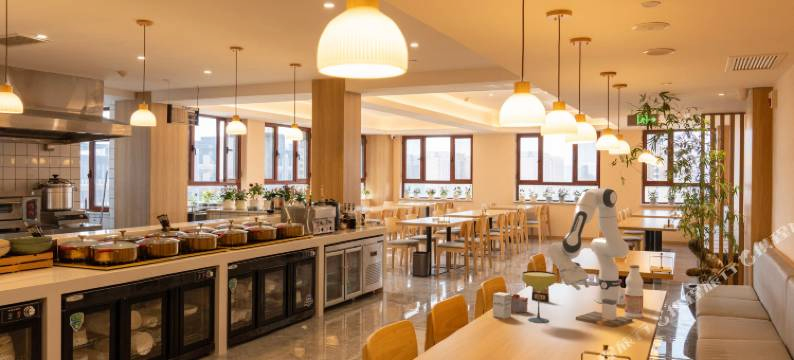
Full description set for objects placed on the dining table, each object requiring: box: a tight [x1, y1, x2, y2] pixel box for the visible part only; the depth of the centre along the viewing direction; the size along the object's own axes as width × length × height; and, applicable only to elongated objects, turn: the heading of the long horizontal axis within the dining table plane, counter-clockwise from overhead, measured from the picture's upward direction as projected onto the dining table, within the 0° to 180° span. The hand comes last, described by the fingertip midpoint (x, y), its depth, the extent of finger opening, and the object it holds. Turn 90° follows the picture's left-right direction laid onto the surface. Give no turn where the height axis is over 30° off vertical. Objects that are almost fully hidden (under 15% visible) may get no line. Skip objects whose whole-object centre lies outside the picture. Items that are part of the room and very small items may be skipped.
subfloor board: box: [575, 310, 633, 328], centre depth 331 cm, size 20×22×2 cm
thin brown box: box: [531, 287, 550, 303], centre depth 380 cm, size 11×2×12 cm, turn 53°
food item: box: [511, 293, 529, 314], centre depth 350 cm, size 14×8×10 cm, turn 67°
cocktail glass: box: [521, 270, 558, 324], centre depth 329 cm, size 18×18×25 cm
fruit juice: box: [624, 264, 644, 319], centre depth 342 cm, size 9×9×28 cm
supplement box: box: [492, 291, 512, 320], centre depth 337 cm, size 7×7×13 cm
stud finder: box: [601, 299, 617, 320], centre depth 329 cm, size 4×6×10 cm, turn 43°
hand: (583, 288), depth 341 cm, fingers open, 8 cm apart
